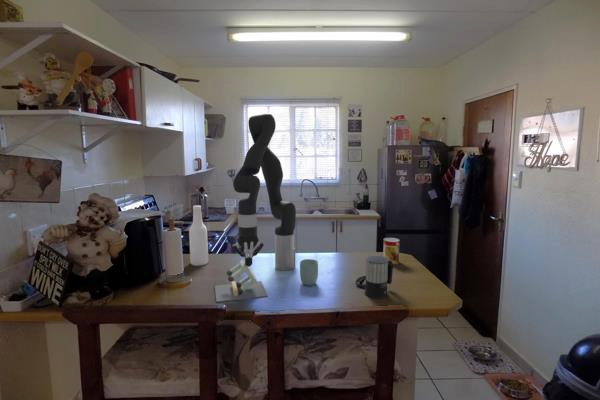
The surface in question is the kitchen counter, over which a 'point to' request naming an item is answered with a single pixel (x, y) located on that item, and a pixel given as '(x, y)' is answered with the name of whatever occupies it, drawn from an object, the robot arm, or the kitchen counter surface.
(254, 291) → the mat
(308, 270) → the cup
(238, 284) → the pale mint angular piece
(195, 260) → the alcohol
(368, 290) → the milk frother
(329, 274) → the kitchen counter surface
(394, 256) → the canned food
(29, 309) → the kitchen counter surface
